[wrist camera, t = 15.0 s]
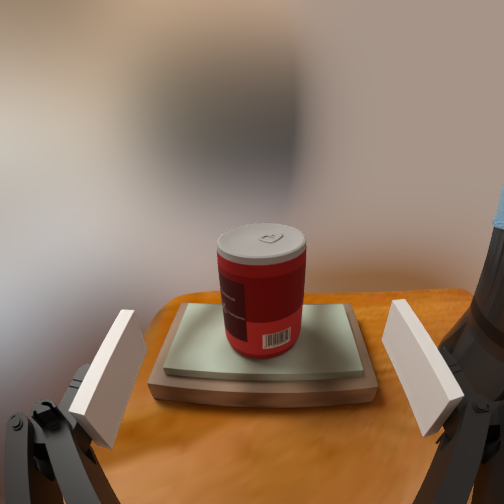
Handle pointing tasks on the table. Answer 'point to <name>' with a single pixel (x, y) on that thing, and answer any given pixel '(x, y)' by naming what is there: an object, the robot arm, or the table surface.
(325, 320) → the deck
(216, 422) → the table surface
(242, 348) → the canned food
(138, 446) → the table surface
